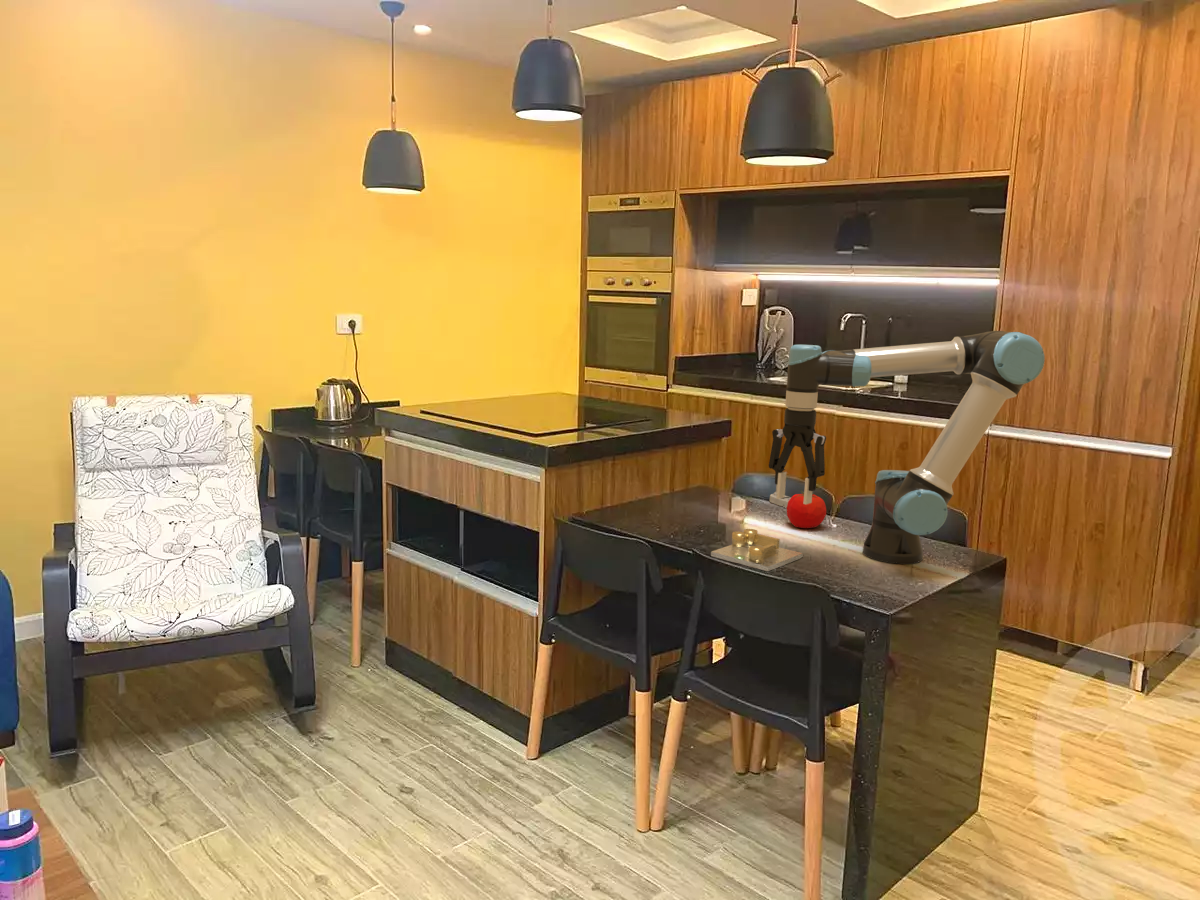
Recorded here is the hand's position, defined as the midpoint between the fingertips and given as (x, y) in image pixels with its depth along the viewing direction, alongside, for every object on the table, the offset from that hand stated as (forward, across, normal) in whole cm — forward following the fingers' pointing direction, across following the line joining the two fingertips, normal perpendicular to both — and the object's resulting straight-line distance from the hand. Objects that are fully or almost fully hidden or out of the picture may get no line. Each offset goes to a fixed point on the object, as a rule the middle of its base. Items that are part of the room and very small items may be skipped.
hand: (793, 500), depth 221 cm
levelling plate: (+17, +10, -1) cm, 20 cm away
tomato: (+17, +17, -38) cm, 45 cm away
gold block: (+16, +13, -7) cm, 21 cm away
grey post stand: (+18, +34, -58) cm, 69 cm away
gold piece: (+16, +6, +3) cm, 17 cm away
